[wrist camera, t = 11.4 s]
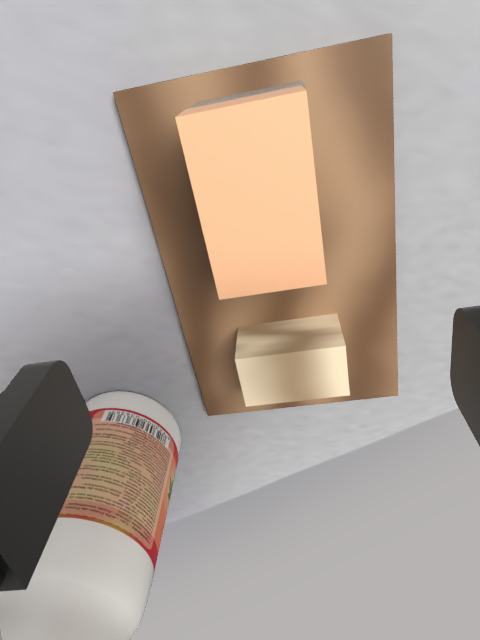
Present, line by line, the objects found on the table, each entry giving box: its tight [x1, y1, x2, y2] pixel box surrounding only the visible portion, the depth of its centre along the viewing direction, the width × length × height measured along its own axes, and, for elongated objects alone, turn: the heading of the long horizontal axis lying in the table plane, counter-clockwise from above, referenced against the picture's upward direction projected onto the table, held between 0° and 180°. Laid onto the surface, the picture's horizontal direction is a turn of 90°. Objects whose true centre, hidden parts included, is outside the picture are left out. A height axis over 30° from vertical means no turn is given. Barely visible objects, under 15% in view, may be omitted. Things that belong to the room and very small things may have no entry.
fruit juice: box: [0, 391, 181, 640], centre depth 28 cm, size 9×9×28 cm
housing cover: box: [175, 85, 327, 300], centre depth 20 cm, size 8×5×2 cm, turn 11°
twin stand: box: [113, 33, 398, 416], centre depth 29 cm, size 15×24×5 cm, turn 10°
